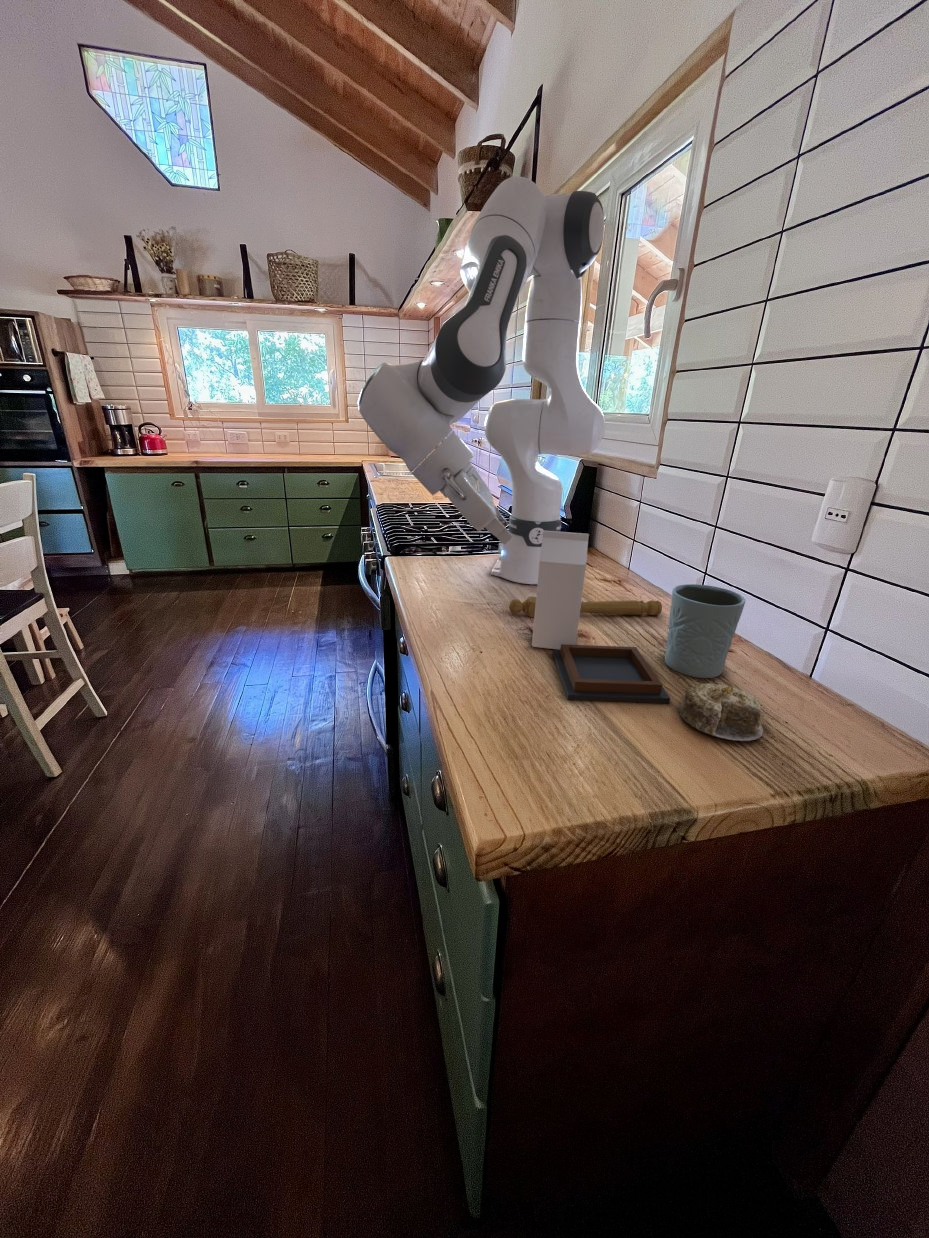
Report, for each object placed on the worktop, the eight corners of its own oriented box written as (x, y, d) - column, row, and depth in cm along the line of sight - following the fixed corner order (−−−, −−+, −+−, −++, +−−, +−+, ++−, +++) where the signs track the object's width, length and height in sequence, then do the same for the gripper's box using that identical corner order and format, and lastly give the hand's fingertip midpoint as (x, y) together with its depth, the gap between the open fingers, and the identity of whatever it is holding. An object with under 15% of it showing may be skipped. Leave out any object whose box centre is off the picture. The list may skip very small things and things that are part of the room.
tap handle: (664, 603, 96) (511, 602, 94) (661, 617, 97) (509, 617, 95) (657, 597, 99) (508, 596, 97) (654, 612, 100) (507, 611, 98)
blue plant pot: (694, 685, 73) (713, 609, 68) (644, 656, 81) (658, 587, 77) (741, 672, 77) (761, 600, 72) (689, 646, 85) (704, 580, 81)
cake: (661, 709, 68) (667, 673, 66) (721, 701, 70) (728, 666, 69) (715, 748, 59) (724, 707, 57) (782, 737, 61) (792, 698, 60)
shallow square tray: (552, 654, 81) (553, 641, 80) (637, 657, 81) (640, 644, 80) (567, 699, 68) (569, 685, 67) (669, 703, 68) (672, 688, 67)
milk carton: (574, 652, 82) (589, 539, 75) (531, 647, 83) (541, 535, 76) (574, 635, 88) (588, 529, 81) (534, 630, 90) (544, 526, 82)
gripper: (459, 457, 64) (528, 534, 68) (462, 447, 83) (516, 508, 87) (424, 491, 66) (494, 564, 70) (435, 473, 85) (489, 532, 89)
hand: (506, 533), depth 79 cm, fingers open, 8 cm apart
